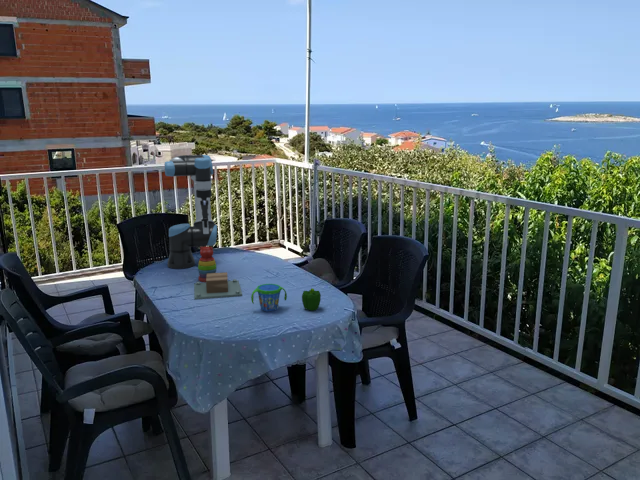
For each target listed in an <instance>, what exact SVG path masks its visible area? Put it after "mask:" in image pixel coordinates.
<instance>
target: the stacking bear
mask: <svg viewBox="0 0 640 480" xmlns="http://www.w3.org/2000/svg"><path fill="white" fill-rule="evenodd" d="M199 247H200V248H199V249H200V251H199V253H200V256H201V257H200V258H199V260H198V264H197V272H198V282H200V283H206V277H207V273H217V263H216V259H215V257H213V256H214V248H213V247H212V246H199Z"/></svg>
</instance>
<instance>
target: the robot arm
mask: <svg viewBox="0 0 640 480" xmlns="http://www.w3.org/2000/svg"><path fill="white" fill-rule="evenodd" d="M164 175H165V176H166V177H190V179H191V180H192V181H193V189H194V190H193V191H194V207H195V208H194V209H195V220H194V222H193V226H191V225H190V223H180V224H179V223H178V224H175V225H172V226H170V227H169V228H168V241H169V256H168V260H167V267H168V268H170V269H175V270H179V269H180V270H181V269H188V268H192V267H194V266H195V265H196V260H195V258H194V255H193V253H192V248H196V247H197V248H198V247H205V246H208V247H212V246H215V245H216V243H217V234H218V225H216V224H215V221H214V220H212V209H211V197H213V196H212V195H213V194H212V176H213V175H214V167H213V161H212V158H211V156H210V155H208V154H192V155H191V154H188V155H187V154H186V155H185V154H183V155H178V156H174V157H172V158H171V159H170V160H169V161H164Z"/></svg>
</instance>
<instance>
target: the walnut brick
mask: <svg viewBox="0 0 640 480" xmlns="http://www.w3.org/2000/svg"><path fill="white" fill-rule="evenodd" d="M228 281H229V280H228V272H227V271H226V272H216V273H207V277H206V282H205V283H206V289H207V293H222V292H228Z"/></svg>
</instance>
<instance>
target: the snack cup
mask: <svg viewBox="0 0 640 480" xmlns="http://www.w3.org/2000/svg"><path fill="white" fill-rule="evenodd" d="M282 290H283V292H284V298H283V300H284V301H287V299H288V295H287V291H286V289H285V288H284V287H282V286H281V285H279V284H276V283H262V284H260V285H259V284H258V286H256V288H255V289H254V290H253V291H252V292H251V296H250V297H251V298H250V300H251V302H252V304H253V305H254V304H255V303H254V295H255V293H257V294H258V299H259V300H258V301H259V306H260V310H261V311H263V312H266V313H267V312H274V311H277V310H278V308H279V302H280V294H281V292H282Z"/></svg>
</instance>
